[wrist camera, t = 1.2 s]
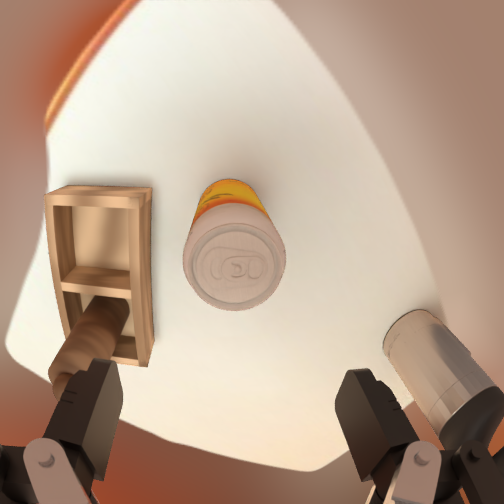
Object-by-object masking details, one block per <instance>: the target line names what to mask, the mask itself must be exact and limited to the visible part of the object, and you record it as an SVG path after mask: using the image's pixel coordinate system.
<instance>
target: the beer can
mask: <svg viewBox="0 0 504 504" xmlns="http://www.w3.org/2000/svg"><path fill="white" fill-rule="evenodd" d="M285 264H286V252H285V247H284V244H283V241H282V239H281V237H280V235H279V233H278V232H277V230H276V228H275V226H274V225H273V223H272V221H271V219H270V218H269V216H268V214H267V212H266V211H265V209H264V207H263V206H262V204H261V202H260V200H259V199H258V197H257V195H256V193H255V192H254V191H253V190H252V188H251V187H249V186H248V185H247V184H245V183H243V182H241V181H238V180H233V179H226V180H221V181H218V182H216V183H214V184H212V185H211V186H209V187H208V188H207V189H206V190H205V192H204V193H203V195H202V196H201V199H200V201H199V204H198V207H197V210H196V213H195V216H194V219H193V222H192V225H191V228H190V231H189V235H188V238H187V241H186V244H185V247H184V251H183V268H184V272H185V275H186V278H187V280H188V282H189V283H190V285H191V286H192V288H193V289H194V290H195V292H196V293H197V294H198V296H199V297H200V298H201V299H203V300H204V301H205V302H207V303H208V304H210V305H212V306H214V307H216V308H219V309H223V310H228V311H240V310H246V309H250V308H253V307H255V306H257V305H259V304H261V303H262V302H264V301H265V300H267V299H268V298H269V297H270V296H271V295H272V294H273V293H274V291H275V290H276V288H277V286H278V285H279V282H280V280H281V278H282V275H283V273H284V269H285Z"/></svg>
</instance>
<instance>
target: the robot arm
mask: <svg viewBox="0 0 504 504" xmlns="http://www.w3.org/2000/svg"><path fill="white" fill-rule="evenodd" d="M383 349H384V353H385V355H386V356H387V358H388V359H389V361H390V362H391V364H392V365H393V367H394V368H395V370H396V372H397V373H398V375H399V376H400V378H401V379H402V381H403V382H404V384H405V385H406V387H407V389H408V390H409V392H410V393H411V395H412V396H413V398H414V400H415V401H416V402H417V404H418V406H419V407H420V409H421V411H422V412H423V414H424V416H425V417H426V419H427V420H428V422H429V424H430V425H431V427H432V428H433V430H434V432H435V434H436V435H437V437H438V438H439V440H440V442H441V443H442V445H443V447H444V449H445V450H438V449H437V447H435V446H434V445H433V444H431V443H429V442H426V441H420V440H419V438H418V436H417V434H416V432H415V431H414V429H413V427H412V425H411V424H410V422H409V420H408V418H407V417H406V415H405V413H404V411H403V410H401V406H400V404H399V402H398V401H396V400H397V399H396V397H395V396H394V394H393V392H392V390H391V389H390V388H389V387H388V386H387V385H385V384H384V383H383V382H382V381H381V380H380V381H376V379H375V377H374V375H373V373H372V372H371V370H370V369H368V368H365V369H354V370H348V371H347V372H346V374H345V377H344V379H343V382H342V384H341V387H340V389H339V392H338V394H337V396H336V399H335V411H336V415H337V417H338V420H339V423H340V425H341V428H342V431H343V433H344V436H345V438H346V441H347V444H348V447H349V449H350V452H351V455H352V457H353V460H354V463H355V465H356V468H357V471H358V474H359V476H360V479H361V482H364V481H368V480H372V479H373V481H374V484H375V485H374V486H373V487H372V489H371V492H370V494H369V496H368V499H367V501H366V503H365V504H464V501H463V499H462V497H461V495H460V492H459V490H460V489H461V488H463V489H464V491H465V494H466V496H467V498H468V500H469V503H470V504H504V447H502V448H501V449H500V450H499V451H498V452H497V453H496V454H495V455H494V456H491V455H490V453H489V451H488V446H489V443H490V441H491V439H492V437H493V434H494V433H495V431H496V429H497V427H498V426H499V424H500V422H501V421H502V419H503V417H504V394H503V392H502V391H501V390H500V389H499V388H498V387H497V385H496V384H495V383H494V382H493V381H492V380H491V378H490V377H489V376H488V375H487V374H486V373H485V372H484V371H483V369H482V368H481V367H480V366H479V365H478V364H477V363H476V362H475V361H474V359H473V358H472V357H471V353H470V351H469V350H468V349H467V348H466V347H465V346H464V345H463V344H462V343H461V342H460V341H459V340H458V338H457V337H456V336H455V335H454V334H453V333H452V332H451V331H450V330H449V329H448V328H447V327H446V326H445V325H444V324H443V323H442V322H441V321H440V320H439V319H438V318H434V317H433V316H432V315H431V314H430V313H429V312H427V311H425V310H416V311H412V312H410V313H408V314H406V315H405V316H403V317H402V318H400V319H399V320H398V321H397V322H396V323H395V324H394V325H393V326H392V327H391V329H390V330H389V332H388V333H387V335H386V337H385V340H384V346H383ZM122 404H123V390H122V386H121V381H120V377H119V373H118V368H117V364H116V362H115V361H113V360H107V359H101V358H93V359H92V361H91V363H90V365H89V368H88V370H87V371H85V370H79V371H77V372H76V373H75V374H74V375H73V376H72V377H71V378H70V379H69V381H68V383H67V385H66V387H65V389H64V392H63V393H62V395H61V397H60V401H59V402H58V404H57V406H56V409H55V410H54V413H53V415H52V417H51V419H50V422H49V424H48V426H47V429H46V431H45V433H44V435H43V437H42V438H40V439H35V440H33V441H31V442H30V443H29V444H28V445H27V446H26V447H17V446H16V447H15V446H4V445H1V444H0V504H99V502H98V500H97V498H96V497H95V495H94V493H93V491H92V490H91V487H92V482H93V479H96V480H100V481H104V477H105V472H106V468H107V464H108V459H109V455H110V451H111V447H112V443H113V439H114V435H115V431H116V427H117V424H118V420H119V416H120V412H121V409H122Z"/></svg>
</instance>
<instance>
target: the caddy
mask: <svg viewBox="0 0 504 504" xmlns="http://www.w3.org/2000/svg"><path fill="white" fill-rule="evenodd" d="M151 198H152V188H144V187H120V186H79V185H67V186H64V187H62V188H59V189H57V190H54V191H52V192H50V193H47V194H45V195H44V201H45V218H46V230H47V240H48V249H49V257H50V264H51V271H52V277H53V283H54V289H55V294H56V299H57V304H58V309H59V314H60V318H61V322H62V327H63V331H64V335H65V339H66V340H65V342H64V344H63V345H62V347H61V349H60V350H59V352H58V354H57V355H56V357H55V359H54V360H53V362H52V364H51V366H50V367H49V370H48V375H49V379H50V381H51V383H52V384H53V394H54V396H55V398H56V399H57V401H58V402H59V401H60V397H61V395H62V393H63V392H64V389H65V387H66V385H67V383H68V381H69V379H70V378H71V377H72V376H73V375H74V374H75V373H76V372H77V371H79V370H85V371H87V370H88V368H89V365H90V363H91V361H92V359H93V358H101V359H107V360H113V361H115V362H116V363H118V364H125V365H132V366H140V367H148V363H149V359H150V355H151V352H152V348H153V344H154V330H153V314H152V293H151Z"/></svg>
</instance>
